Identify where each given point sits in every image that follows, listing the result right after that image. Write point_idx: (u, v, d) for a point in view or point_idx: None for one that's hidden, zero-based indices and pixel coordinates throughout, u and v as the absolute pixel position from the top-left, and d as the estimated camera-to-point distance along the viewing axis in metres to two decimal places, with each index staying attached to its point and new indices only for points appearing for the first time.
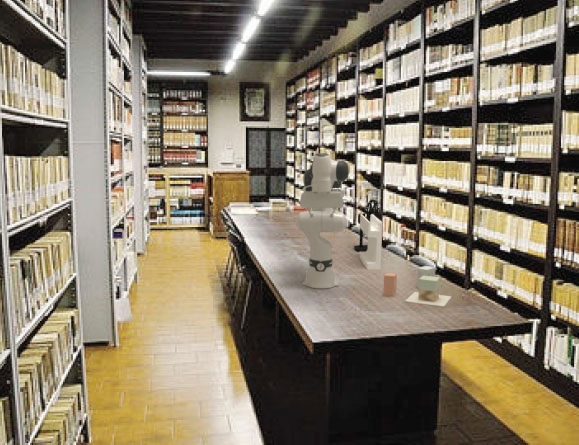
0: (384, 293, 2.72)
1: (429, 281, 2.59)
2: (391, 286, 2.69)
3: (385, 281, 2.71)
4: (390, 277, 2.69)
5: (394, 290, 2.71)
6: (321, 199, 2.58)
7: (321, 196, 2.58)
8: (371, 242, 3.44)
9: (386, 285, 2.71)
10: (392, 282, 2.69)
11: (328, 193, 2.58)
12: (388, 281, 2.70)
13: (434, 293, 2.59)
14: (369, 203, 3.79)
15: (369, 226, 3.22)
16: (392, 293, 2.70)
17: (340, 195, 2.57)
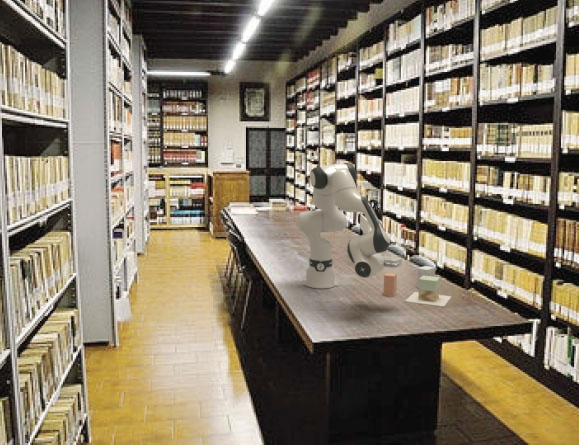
0: (384, 293, 2.72)
1: (429, 281, 2.59)
2: (391, 286, 2.69)
3: (385, 281, 2.71)
4: (390, 277, 2.69)
5: (394, 290, 2.71)
6: None
7: None
8: None
9: (386, 285, 2.71)
10: (392, 282, 2.69)
11: None
12: (388, 281, 2.70)
13: (434, 293, 2.59)
14: None
15: (369, 226, 3.22)
16: (392, 293, 2.70)
17: (395, 267, 2.46)
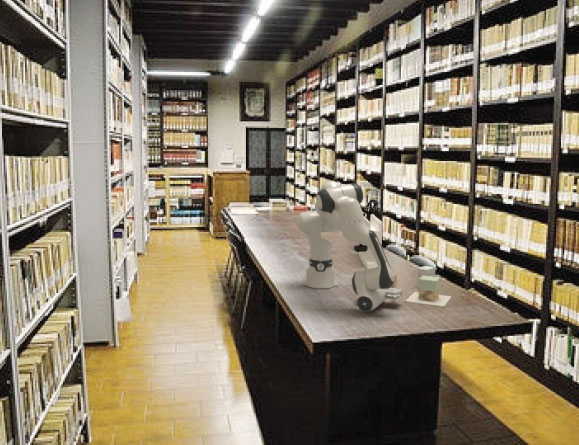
0: None
1: (429, 281, 2.59)
2: (391, 286, 2.69)
3: None
4: None
5: None
6: None
7: None
8: None
9: None
10: None
11: None
12: None
13: (434, 293, 2.59)
14: (369, 203, 3.79)
15: (369, 226, 3.22)
16: None
17: (396, 299, 2.52)
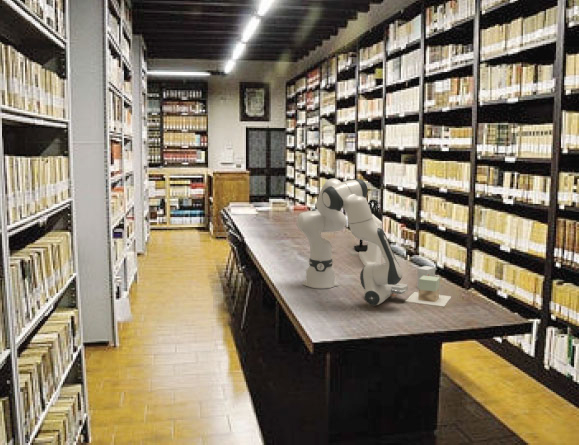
0: None
1: (429, 281, 2.59)
2: None
3: None
4: None
5: None
6: None
7: None
8: (371, 242, 3.44)
9: None
10: None
11: None
12: None
13: (434, 293, 2.59)
14: (369, 203, 3.79)
15: None
16: (392, 293, 2.70)
17: (402, 293, 2.60)
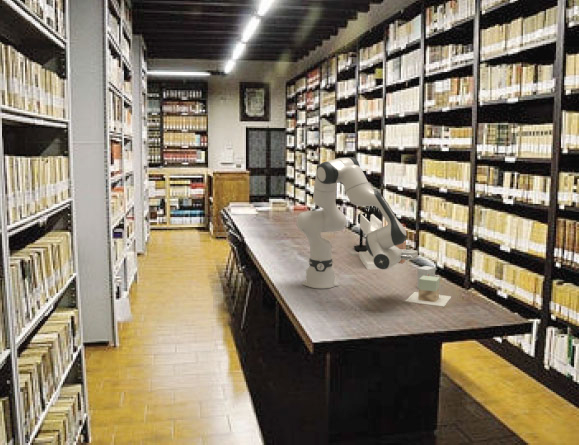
0: None
1: (429, 281, 2.59)
2: None
3: None
4: (399, 244, 2.65)
5: None
6: None
7: None
8: None
9: None
10: None
11: None
12: None
13: (434, 293, 2.59)
14: None
15: (369, 226, 3.22)
16: (401, 260, 2.65)
17: (412, 259, 2.56)
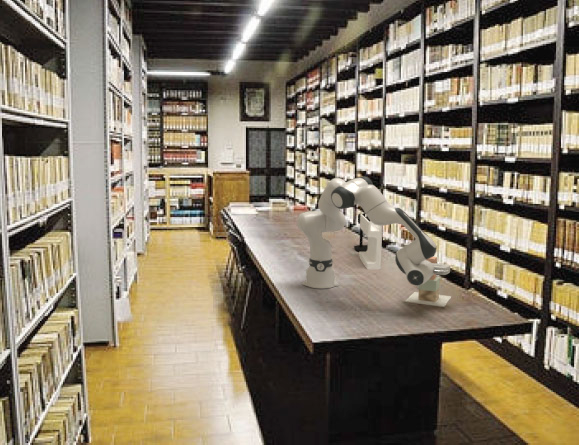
0: None
1: (429, 281, 2.59)
2: None
3: None
4: (430, 260, 2.59)
5: None
6: None
7: None
8: (371, 242, 3.44)
9: None
10: None
11: None
12: None
13: (434, 293, 2.59)
14: None
15: (369, 226, 3.22)
16: (432, 276, 2.60)
17: (444, 274, 2.50)
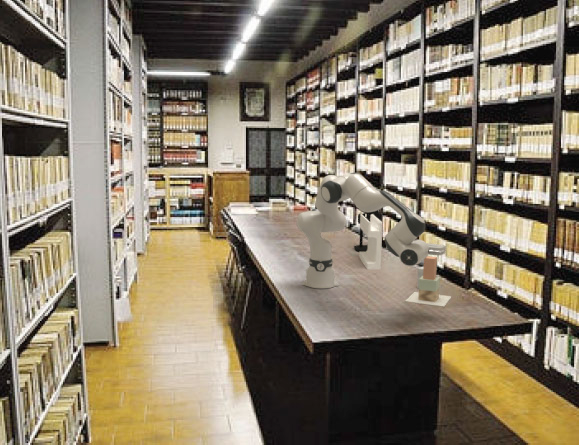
0: (424, 277, 2.62)
1: (429, 281, 2.59)
2: (431, 269, 2.60)
3: (425, 264, 2.61)
4: (430, 260, 2.59)
5: (434, 273, 2.61)
6: None
7: None
8: (371, 242, 3.44)
9: (426, 269, 2.61)
10: (432, 266, 2.59)
11: None
12: (428, 264, 2.60)
13: (434, 293, 2.59)
14: None
15: (369, 226, 3.22)
16: (432, 276, 2.60)
17: None
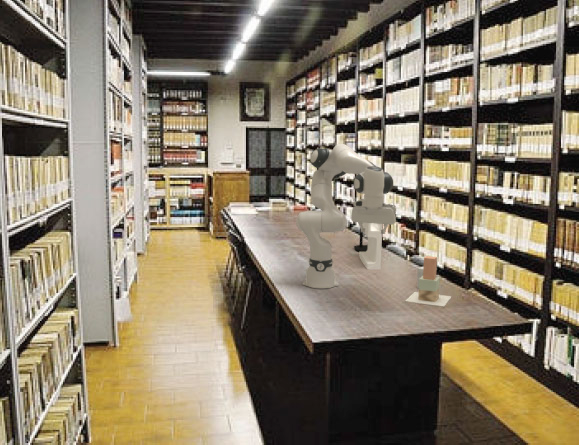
0: (424, 277, 2.62)
1: (429, 281, 2.59)
2: (431, 269, 2.60)
3: (425, 264, 2.61)
4: (430, 260, 2.59)
5: (434, 273, 2.61)
6: (372, 214, 2.50)
7: (372, 211, 2.50)
8: (371, 242, 3.44)
9: (426, 269, 2.61)
10: (432, 266, 2.59)
11: (379, 209, 2.48)
12: (428, 264, 2.60)
13: (434, 293, 2.59)
14: None
15: (369, 226, 3.22)
16: (432, 276, 2.60)
17: (391, 211, 2.46)
